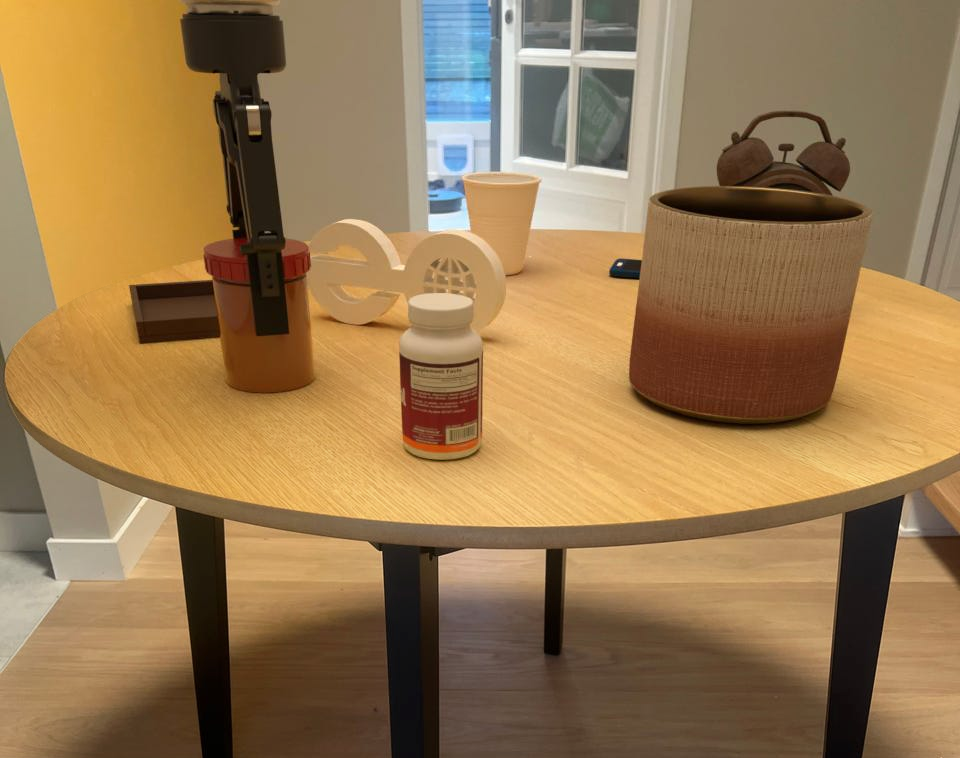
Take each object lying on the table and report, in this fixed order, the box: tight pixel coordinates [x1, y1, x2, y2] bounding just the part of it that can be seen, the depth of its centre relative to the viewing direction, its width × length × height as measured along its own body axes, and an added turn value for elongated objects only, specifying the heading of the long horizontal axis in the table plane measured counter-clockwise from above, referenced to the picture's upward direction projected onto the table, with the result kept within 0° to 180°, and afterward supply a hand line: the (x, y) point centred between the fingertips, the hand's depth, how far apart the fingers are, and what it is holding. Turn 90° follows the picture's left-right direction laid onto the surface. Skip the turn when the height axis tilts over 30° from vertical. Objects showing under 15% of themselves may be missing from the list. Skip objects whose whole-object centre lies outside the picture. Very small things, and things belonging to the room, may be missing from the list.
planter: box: [628, 185, 874, 425], centre depth 80 cm, size 18×18×16 cm
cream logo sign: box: [306, 218, 507, 333], centre depth 97 cm, size 22×2×10 cm, turn 67°
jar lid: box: [203, 237, 311, 281], centre depth 80 cm, size 9×9×2 cm
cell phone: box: [608, 257, 642, 279], centre depth 121 cm, size 7×14×1 cm, turn 75°
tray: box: [128, 279, 220, 344], centre depth 101 cm, size 13×15×2 cm
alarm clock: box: [716, 110, 851, 196], centre depth 103 cm, size 15×7×20 cm, turn 92°
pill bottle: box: [398, 292, 484, 461], centre depth 70 cm, size 6×6×11 cm
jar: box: [211, 273, 316, 394], centre depth 83 cm, size 8×8×10 cm
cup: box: [461, 171, 543, 276], centre depth 119 cm, size 10×10×11 cm
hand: (264, 319), depth 83 cm, fingers closed on jar lid, 9 cm apart
